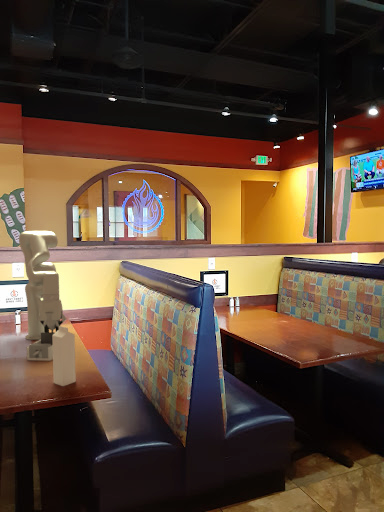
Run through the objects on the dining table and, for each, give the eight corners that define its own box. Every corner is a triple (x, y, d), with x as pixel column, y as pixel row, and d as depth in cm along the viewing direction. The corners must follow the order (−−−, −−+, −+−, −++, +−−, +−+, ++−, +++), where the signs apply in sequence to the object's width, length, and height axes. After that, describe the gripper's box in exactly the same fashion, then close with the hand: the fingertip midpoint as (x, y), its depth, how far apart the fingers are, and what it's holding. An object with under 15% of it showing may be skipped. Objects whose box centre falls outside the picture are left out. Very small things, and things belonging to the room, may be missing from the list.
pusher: (42, 349, 201) (41, 332, 201) (58, 349, 200) (58, 332, 200) (25, 360, 184) (24, 341, 184) (43, 360, 183) (42, 341, 183)
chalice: (52, 344, 208) (50, 309, 207) (63, 345, 206) (62, 310, 205) (42, 348, 201) (41, 312, 200) (53, 349, 199) (52, 313, 198)
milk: (66, 378, 164) (65, 324, 163) (75, 382, 161) (74, 326, 159) (53, 383, 159) (51, 327, 158) (62, 386, 156) (61, 329, 155)
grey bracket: (46, 347, 210) (46, 333, 209) (68, 347, 209) (68, 334, 208) (26, 360, 189) (26, 345, 188) (50, 360, 188) (50, 345, 187)
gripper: (31, 298, 199) (32, 335, 200) (65, 298, 197) (66, 335, 198) (38, 296, 206) (39, 331, 207) (70, 296, 205) (71, 332, 206)
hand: (52, 333), depth 203 cm, fingers closed on chalice, 4 cm apart
